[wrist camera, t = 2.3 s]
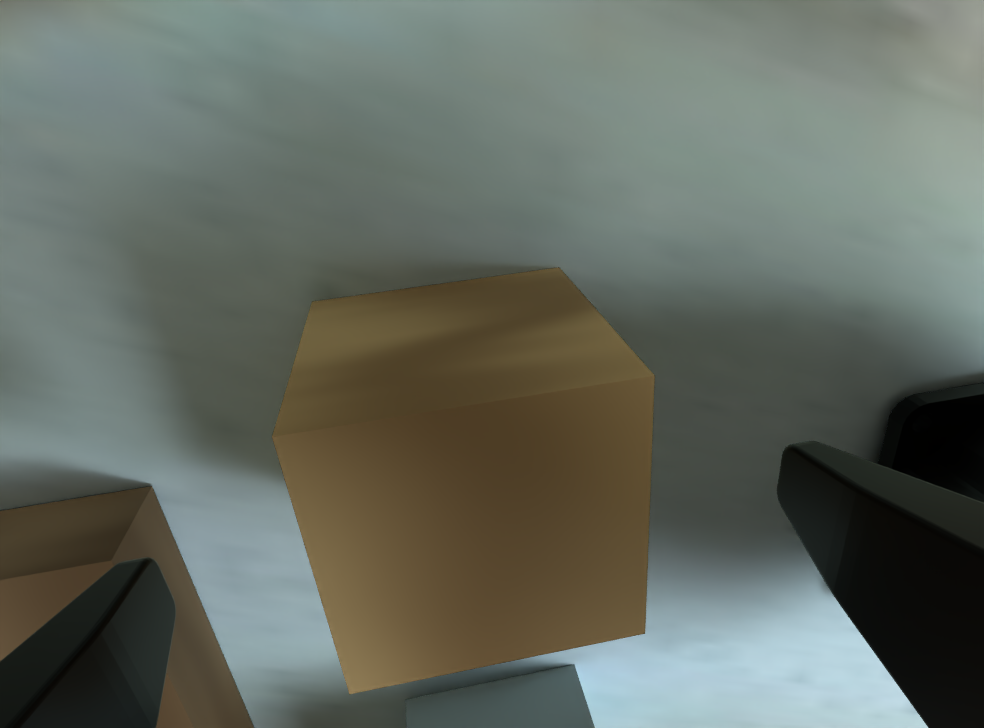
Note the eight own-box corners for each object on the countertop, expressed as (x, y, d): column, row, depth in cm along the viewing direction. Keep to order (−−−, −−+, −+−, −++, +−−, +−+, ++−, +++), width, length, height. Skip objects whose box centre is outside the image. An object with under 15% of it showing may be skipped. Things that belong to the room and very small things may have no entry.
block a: (557, 265, 11) (655, 375, 7) (565, 463, 13) (645, 633, 9) (312, 299, 11) (271, 437, 7) (359, 499, 13) (349, 694, 9)
